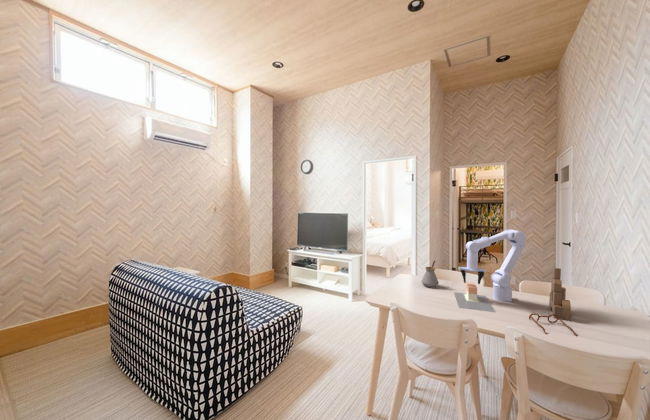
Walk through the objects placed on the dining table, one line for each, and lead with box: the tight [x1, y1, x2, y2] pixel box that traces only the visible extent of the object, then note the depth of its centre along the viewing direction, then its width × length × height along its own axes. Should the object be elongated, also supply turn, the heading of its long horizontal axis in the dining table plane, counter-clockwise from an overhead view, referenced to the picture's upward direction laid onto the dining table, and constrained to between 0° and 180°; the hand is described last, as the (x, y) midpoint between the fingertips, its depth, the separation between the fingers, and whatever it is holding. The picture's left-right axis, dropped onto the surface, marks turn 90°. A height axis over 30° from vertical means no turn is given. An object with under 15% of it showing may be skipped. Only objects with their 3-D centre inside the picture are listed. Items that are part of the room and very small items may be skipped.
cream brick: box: [465, 288, 478, 301], centre depth 162 cm, size 4×8×4 cm, turn 159°
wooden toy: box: [548, 267, 572, 321], centre depth 141 cm, size 16×7×25 cm, turn 148°
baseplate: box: [453, 292, 496, 313], centre depth 157 cm, size 18×24×1 cm
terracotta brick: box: [465, 282, 478, 295], centre depth 161 cm, size 4×8×4 cm, turn 160°
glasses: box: [528, 312, 578, 337], centre depth 127 cm, size 13×13×5 cm
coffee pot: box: [421, 259, 440, 288], centre depth 190 cm, size 21×12×15 cm, turn 146°
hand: (471, 283), depth 161 cm, fingers open, 7 cm apart
